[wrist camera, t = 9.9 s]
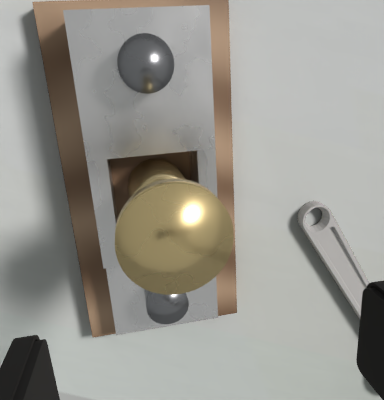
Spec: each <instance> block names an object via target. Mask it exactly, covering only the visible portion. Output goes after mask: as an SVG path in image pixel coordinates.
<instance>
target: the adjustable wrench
mask: <svg viewBox="0 0 384 400" xmlns="http://www.w3.org/2000/svg"><path fill="white" fill-rule="evenodd" d="M314 208H319V209H320V210H321V211H322V217H321V219H320V221H319V222H318V223H317V224H315V225H313V226H309V225H307V224H306V223H305V219H306V216H307V214H308V212H310V211H311V210H312V209H314ZM298 223H299V225H300V226H301V228H302V230H303V231H304V233H305V234H306V236H307V237H308V239H309V241H310V242H311V244H312V245H313V247H314V248H315V250H316V252H317V253H318V255H319V256H320V258H321V259H322V261H323V263H324V264H325V266H326V267H327V269H328V271H329V272H330V274H331V275H332V277H333V278H334V280H335V282H336V283H337V285H338V286H339V288H340V289H341V291H342V293H343V294H344V296H345V297H346V299H347V300H348V302H349V304H350V305H351V307H352V308H353V310H354V311H355V313H356V315H357V316H358V318H359V319H360V316H361V304H362V293H363V290H364V289H366V288H367V285H368V284H369V281H368V279H367V277H366V275H365V273H364V272H363V270H362V268H361V266H360V264H359V262H358V260H357V259H356V257H355V255H354V253H353V251H352V249H351V247H350V246H349V244H348V242H347V240H346V238H345V236H344V234H343V232H342V231H341V229H340V227H339V225H338V223H337V221H336V219H335V218H334V216H333V214H332V212H331V210H330V209H329V208H328V207H327V206H325V205H323V204H322V203H320V202H318V201H311V202H308V203H306V204H304V205H303V206H302V207H301V209H300V210H299V213H298Z"/></svg>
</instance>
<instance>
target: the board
mask: <svg viewBox="0 0 384 400" xmlns="http://www.w3.org/2000/svg"><path fill="white" fill-rule="evenodd" d="M32 3H33V8H34V14H35V19H36V25H37V30H38V36H39V41H40V47H41V53H42V58H43V64H44V69H45V75H46V80H47V86H48V92H49V97H50V103H51V108H52V114H53V119H54V125H55V131H56V136H57V142H58V147H59V153H60V158H61V164H62V169H63V175H64V181H65V186H66V192H67V197H68V203H69V208H70V214H71V220H72V225H73V231H74V236H75V242H76V247H77V253H78V259H79V264H80V270H81V275H82V281H83V286H84V292H85V297H86V303H87V309H88V314H89V320H90V325H91V331H92V336H93V337H98V336H104V335H110V334H116V330H115V324H114V317H113V311H112V304H111V298H110V291H109V285H108V278H107V272H106V268H104V269H103V262H102V256H101V250H100V243H99V237H98V230H97V224H96V218H95V211H94V205H93V199H92V192H91V186H90V179H89V173H88V167H87V160H86V154H85V148H84V141H83V135H82V128H81V122H80V116H79V109H78V103H77V97H76V90H75V84H74V77H73V71H72V65H71V58H70V52H69V46H68V39H67V33H66V26H65V20H64V14H63V10H79V9H108V8H137V7H167V6H196V5H209V7H210V31H211V55H212V78H213V102H214V126H215V150H216V173H217V197H218V199H219V200H220V201H221V203H222V204H223V205H224V206H225V208H226V210H227V211H228V213H229V215H230V218H231V220H232V224H233V230H234V242H233V248H232V251H231V254H230V256H229V259H228V261H227V263H226V264H225V266H224V267H223V269H222V270H221V271H220V272H219V274H218V275H217V276H216V284H217V305H218V316H221V315H226V314H232V313H237V299H236V262H235V225H234V188H233V151H232V114H231V78H230V41H229V4H228V0H78V1H45V2H32ZM151 158H161V159H165V160H168V161H170V162H172V163H173V164H174V165H175V166H176V167H177V168H178V169H179V171H180V172H181V173H182V175H183V176H184V178H185V179H186V180H191V171H190V156H189V151H186V152H176V153H166V154H156V155H145V156H135V157H125V158H115V159H110V166H111V173H112V181H113V188H114V195H115V203H116V210H117V217H118V216H119V213H120V212H121V210H122V208H123V206H124V205H125V203H126V202H127V201H128V200H129V192H128V181H129V177H130V174H131V172H132V171H133V169H134V168H135V167H136V166H137V165H138V164H139V163H141V162H143V161H145V160H147V159H151Z"/></svg>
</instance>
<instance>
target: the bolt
mask: <svg viewBox="0 0 384 400" xmlns="http://www.w3.org/2000/svg"><path fill="white" fill-rule="evenodd" d="M128 192H129V200H128V201H127V202H126V203H125V205H124V206H123V208H122V210H121V212H120V213H119V216H118V219H117V222H116V227H115V252H116V257H117V260H118V262H119V265H120V267H121V268H122V270H123V272H124V273H125V274H126V275H127V277H128V278H129V279H130V280H131V281H133V282H134V283H135V284H137V285H138V286H140V287H141V288H143V289H145V290H148V291H150V292H154V293H158V294H165V295H175V294H183V293H187V292H190V291H193V290H196V289H198V288H200V287H202V286H204V285H205V284H207V283H208V282H210V281H211V280H212V279H213V278H215V277H216V276H217V275H218V274H219V272H220V271H221V270H222V269H223V267H224V266H225V264H226V263H227V261H228V259H229V256H230V254H231V251H232V248H233V242H234V230H233V224H232V220H231V218H230V215H229V213H228V211H227V210H226V208H225V206H224V205H223V204H222V203H221V201H220V200H219V199H218V198H217V197H216V196H215V195H214V194H213V193H212V192H211V191H210V190H209V189H207V188H206V187H205V186H203V185H201V184H199V183H196V182H194V181H191V180H186V179H185V178H184V176H183V175H182V173H181V172H180V171H179V169H178V168H177V167H176V166H175V165H174V164H173V163H172V162H170V161H168V160H165V159H161V158H151V159H147V160H145V161H143V162H141V163H139V164H138V165H137V166H136V167H135V168H134V169H133V171H132V172H131V174H130V177H129V181H128Z"/></svg>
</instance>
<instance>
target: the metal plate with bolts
mask: <svg viewBox="0 0 384 400" xmlns="http://www.w3.org/2000/svg"><path fill="white" fill-rule="evenodd" d="M63 14H64V20H65V26H66V33H67V39H68V46H69V52H70V58H71V65H72V71H73V77H74V84H75V90H76V97H77V103H78V109H79V116H80V122H81V128H82V135H83V141H84V148H85V154H86V160H87V167H88V173H89V179H90V186H91V192H92V199H93V205H94V211H95V218H96V224H97V230H98V237H99V243H100V250H101V256H102V262H103V269H104V268H106V272H107V278H108V285H109V291H110V298H111V304H112V311H113V317H114V324H115V330H116V335H118V334H124V333H130V332H136V331H141V330H147V329H153V328H159V327H165V326H171V325H176V324H182V323H188V322H194V321H200V320H205V319H211V318H217V317H218V305H217V284H216V277H215V278H213V279H212V280H211V281H210V282H208V283H207V284H205V285H204V286H202V287H200V288H198V289H196V290H193V291H190V292H187V293H183V294H175V295H165V294H158V293H154V292H150V291H148V290H145V289H143V288H141V287H140V286H138V285H137V284H135V283H134V282H133V281H131V280H130V279H129V278H128V277H127V275H126V274H125V273H124V272H123V270H122V268H121V267H120V265H119V262H118V260H117V257H116V252H115V227H116V222H117V219H118V217H117V210H116V203H115V195H114V188H113V181H112V173H111V166H110V159H115V158H125V157H135V156H145V155H156V154H166V153H176V152H186V151H189V156H190V171H191V181H194V182H196V183H199V184H201V185H203V186H205V187H206V188H207V189H209V190H210V191H211V192H212V193H213V194H214V195H215V196H216V197H217V173H216V150H215V126H214V102H213V78H212V55H211V31H210V7H209V5H196V6H167V7H137V8H108V9H79V10H63ZM217 198H218V197H217Z"/></svg>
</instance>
